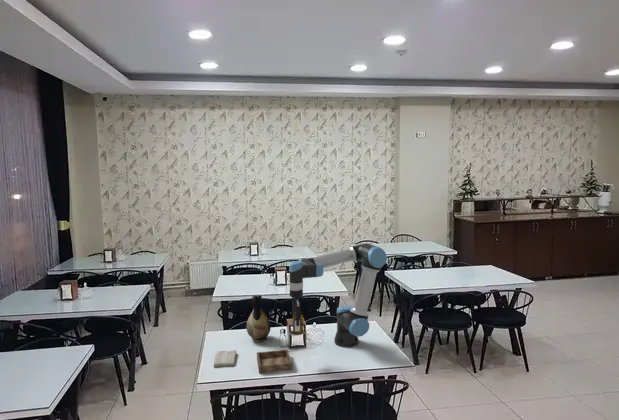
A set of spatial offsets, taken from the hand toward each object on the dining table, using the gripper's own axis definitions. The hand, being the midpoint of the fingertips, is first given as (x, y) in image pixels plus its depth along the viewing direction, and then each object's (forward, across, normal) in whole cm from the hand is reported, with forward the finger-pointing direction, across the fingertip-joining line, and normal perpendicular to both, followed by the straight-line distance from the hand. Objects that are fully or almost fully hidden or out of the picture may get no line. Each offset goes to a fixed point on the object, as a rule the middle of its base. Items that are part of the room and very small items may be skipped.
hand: (296, 328), depth 249 cm
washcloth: (+21, -12, -40) cm, 47 cm away
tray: (+20, 0, -13) cm, 24 cm away
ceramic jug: (+20, -37, -19) cm, 46 cm away
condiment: (+3, 0, 0) cm, 3 cm away
